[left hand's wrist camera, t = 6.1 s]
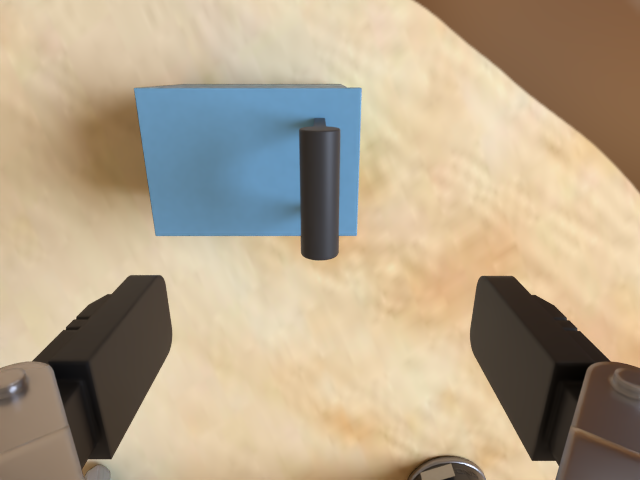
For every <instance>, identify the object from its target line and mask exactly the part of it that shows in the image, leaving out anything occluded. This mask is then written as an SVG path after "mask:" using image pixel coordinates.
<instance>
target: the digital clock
mask: <svg viewBox="0 0 640 480" xmlns="http://www.w3.org/2000/svg"><path fill="white" fill-rule="evenodd" d="M84 480H110V471H109V470H108V469H107V468H106V467H105V466H103V465H97V466H95V467H93V468H92V469H90V470H89V471H87V473H86V475H85V477H84Z"/></svg>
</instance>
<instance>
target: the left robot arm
mask: <svg viewBox="0 0 640 480" xmlns="http://www.w3.org/2000/svg"><path fill="white" fill-rule="evenodd" d="M470 342H471V347H472V351H473V354H474V356H475V358H476V359H477V361H478V363H479V365H480V367H481V368H482V370H483V372H484V374H485V376H486V378H487V379H488V381H489V383H490V385H491V387H492V389H493V390H494V392H495V394H496V396H497V398H498V399H499V401H500V403H501V405H502V407H503V409H504V410H505V412H506V414H507V416H508V418H509V420H510V421H511V423H512V425H513V427H514V429H515V431H516V432H517V434H518V436H519V438H520V440H521V441H522V443H523V445H524V447H525V449H526V451H527V452H528V454H529V456H530V458H531V460H532V461H556V462H557V464H558V465H559V469H558V473H557V476H556V480H640V368H638V367H635V366H632V365H628V364H624V363H618V362H611V361H610V360H609V359H608V358H607V357H606V356H605V355H604V354H603V353H602V352H601V351H600V350H599V349H598V348H597V347H596V346H595V345H593V344H592V343H591V342H590V341H589V340H588V339H587V338H586V337H585V336H584V335H583V334H582V333H581V332H580V331H577V328H576V327H575V326H574V325H573V324H572V323H571V322H570V321H569V320H567V318H566V317H565V316H564V315H563V314H562V313H561V312H560V311H559V310H558V309H557V308H556V307H555V306H554V305H552V304H550V303H549V302H547V301H545V300H543V299H541V298H540V297H538V296H536V295H531V294H530V293H529V292H528V291H527V290H526V289H525V288H524V287H523V286H522V285H521V284H520V283H519V282H518V281H517V279H516V278H514V277H513V276H481V277H480V278H479V280H478V283H477V287H476V294H475V301H474V308H473V314H472V321H471V328H470ZM171 343H172V325H171V319H170V312H169V305H168V298H167V291H166V285H165V281H164V279H163V277H162V276H160V275H130V276H129V277H127V278H126V280H125V281H124V282H123V283H122V284H121V285H120V286H119V287H118V288H117V289H116V290H115V291H114V292H113V293H112V294H107V295H105V296H104V297H102V298H100V299H98V300H96V301H95V302H93V303H91V304H89V305H88V306H87V307H86V308H85V309H84V310H83V311H82V312H81V313H80V314H79V315H78V316H77V317H76V320H73V321H72V322H71V323H70V324H69V325H68V326H67V327H66V330H63V331H62V332H61V333H60V334H59V335H58V336H57V337H56V338H55V339H54V340H53V341H52V342H51V343H50V344H49V345H48V346H47V347H46V348H45V349H44V350H43V351H42V352H41V353H40V354H39V355H38V356H37V357H36V358H35V359H34V360H33V361H32V362H22V363H16V364H12V365H8V366H5V367H2V368H0V480H84V476H83V473H82V468H83V466H84V465H85V463H86V462H87V460H88V459H112V457H113V455H114V453H115V452H116V450H117V448H118V446H119V444H120V442H121V440H122V439H123V437H124V435H125V433H126V431H127V429H128V427H129V426H130V424H131V422H132V420H133V418H134V416H135V415H136V413H137V411H138V409H139V407H140V405H141V403H142V402H143V400H144V398H145V396H146V394H147V392H148V391H149V389H150V387H151V385H152V383H153V381H154V379H155V378H156V376H157V374H158V372H159V370H160V368H161V367H162V365H163V363H164V361H165V359H166V357H167V355H168V353H169V351H170V348H171ZM408 480H486V478H485V476H484V474H483V472H482V470H481V469H480V468H479V467H478V466H477V465H476V464H474V463H473V462H471V461H469V460H467V459H464V458H459V457H441V458H436V459H433V460H430V461H427V462H425V463H424V464H422V465H420V466H419V467H418V468H416V469H415V470H414V471H413V472H412V474H411V475H410V477H409V479H408Z"/></svg>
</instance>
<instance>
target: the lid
mask: <svg viewBox="0 0 640 480" xmlns="http://www.w3.org/2000/svg"><path fill="white" fill-rule="evenodd" d="M361 91H362V89H361V88H134V92H135V99H136V105H137V112H138V119H139V126H140V132H141V139H142V146H143V153H144V160H145V166H146V173H147V180H148V187H149V193H150V200H151V207H152V214H153V221H154V227H155V234H156V236H301V254H302V255H303V256H304V257H305V258H308V259H311V260H328V259H332V258H334V257H336V256H337V255H338V251H339V236H357V212H358V182H359V152H360V121H361Z"/></svg>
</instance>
